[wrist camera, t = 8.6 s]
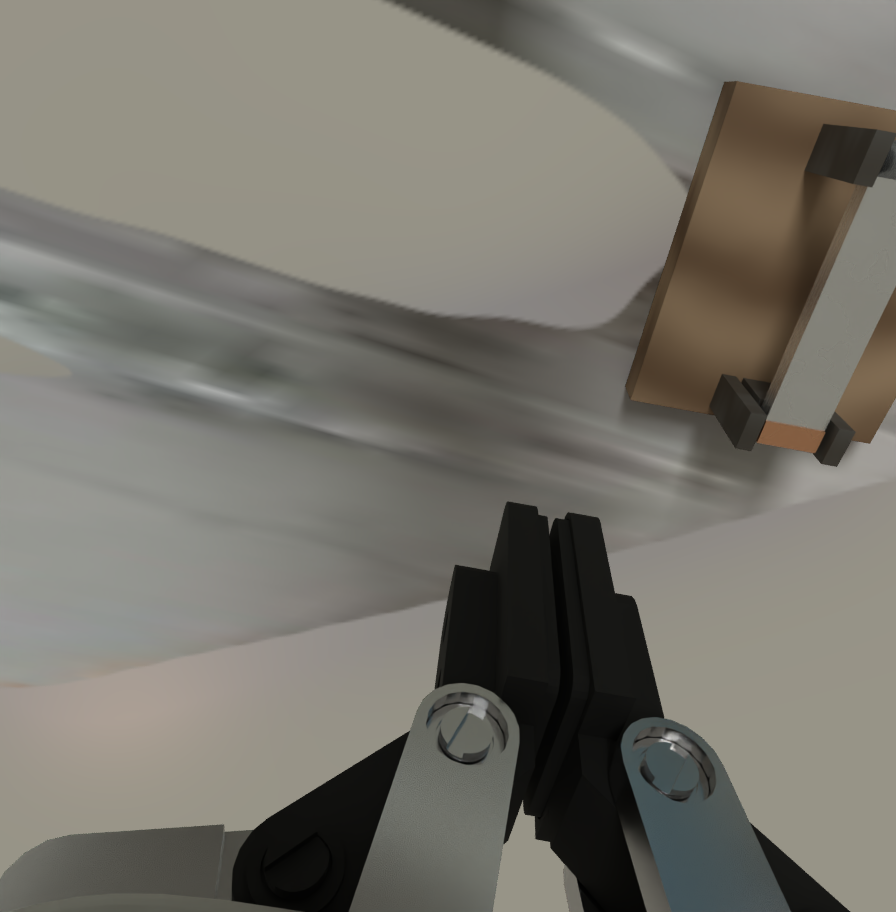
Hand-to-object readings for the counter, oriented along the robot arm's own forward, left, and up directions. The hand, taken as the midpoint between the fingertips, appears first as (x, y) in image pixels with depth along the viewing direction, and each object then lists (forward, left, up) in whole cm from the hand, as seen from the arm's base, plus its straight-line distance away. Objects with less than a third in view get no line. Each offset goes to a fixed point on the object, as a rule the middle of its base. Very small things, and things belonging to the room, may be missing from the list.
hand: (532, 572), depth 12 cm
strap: (-1, +15, -22) cm, 27 cm away
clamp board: (-1, +15, -27) cm, 31 cm away
